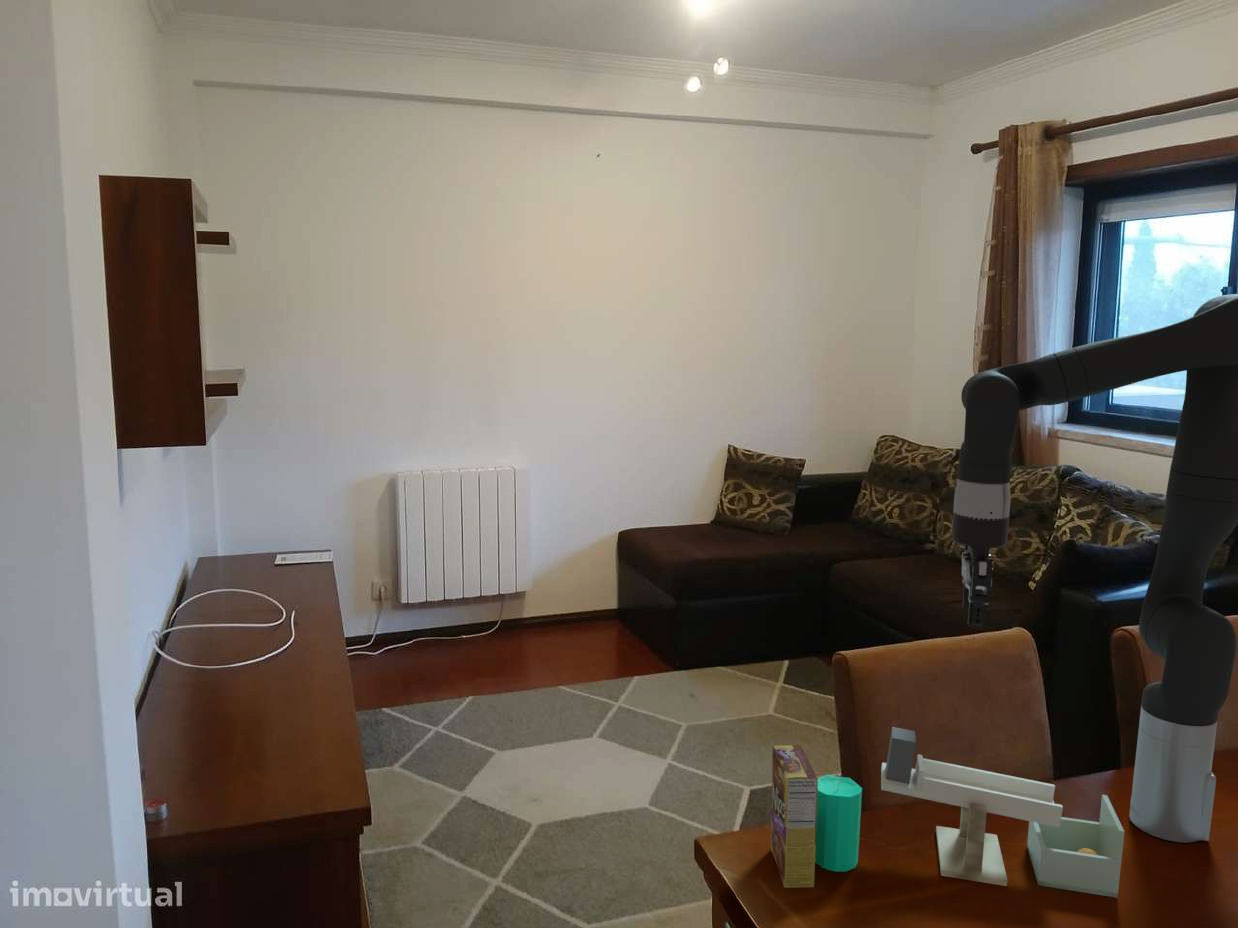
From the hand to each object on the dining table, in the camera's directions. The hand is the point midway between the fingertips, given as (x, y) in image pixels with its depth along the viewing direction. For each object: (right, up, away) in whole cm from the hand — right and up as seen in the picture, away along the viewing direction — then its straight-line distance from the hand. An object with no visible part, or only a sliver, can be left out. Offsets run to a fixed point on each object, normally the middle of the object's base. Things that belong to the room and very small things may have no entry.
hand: (972, 619), depth 136 cm
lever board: (-6, -22, -12) cm, 26 cm away
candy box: (-29, -31, -14) cm, 45 cm away
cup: (+7, -31, -14) cm, 35 cm away
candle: (-23, -30, -12) cm, 40 cm away
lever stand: (-5, -30, -11) cm, 33 cm away
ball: (+9, -29, -15) cm, 34 cm away
